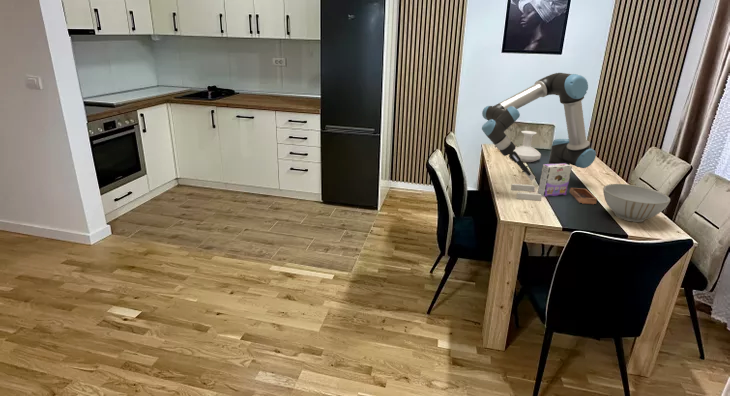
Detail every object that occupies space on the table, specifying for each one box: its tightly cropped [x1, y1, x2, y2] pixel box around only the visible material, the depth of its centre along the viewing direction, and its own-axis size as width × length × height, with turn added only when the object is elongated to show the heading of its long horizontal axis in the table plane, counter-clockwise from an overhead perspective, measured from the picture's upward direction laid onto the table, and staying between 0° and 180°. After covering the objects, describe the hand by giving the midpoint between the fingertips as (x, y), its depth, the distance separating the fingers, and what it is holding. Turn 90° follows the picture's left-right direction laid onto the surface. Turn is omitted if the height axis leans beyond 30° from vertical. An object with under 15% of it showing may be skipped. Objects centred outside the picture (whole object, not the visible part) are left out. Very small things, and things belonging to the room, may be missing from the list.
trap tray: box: [569, 187, 598, 205], centre depth 222 cm, size 8×16×3 cm, turn 173°
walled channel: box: [510, 183, 543, 201], centre depth 225 cm, size 12×16×3 cm
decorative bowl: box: [602, 183, 671, 223], centre depth 199 cm, size 27×27×12 cm
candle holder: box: [513, 130, 542, 163], centre depth 290 cm, size 20×20×19 cm
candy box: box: [537, 163, 573, 197], centre depth 225 cm, size 14×6×16 cm, turn 102°
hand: (533, 178), depth 222 cm, fingers closed
